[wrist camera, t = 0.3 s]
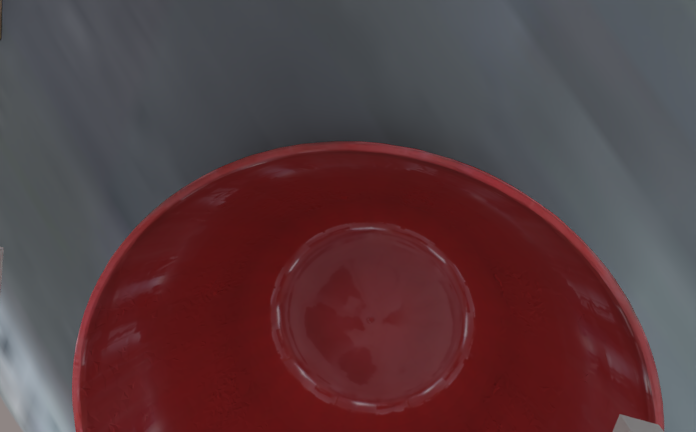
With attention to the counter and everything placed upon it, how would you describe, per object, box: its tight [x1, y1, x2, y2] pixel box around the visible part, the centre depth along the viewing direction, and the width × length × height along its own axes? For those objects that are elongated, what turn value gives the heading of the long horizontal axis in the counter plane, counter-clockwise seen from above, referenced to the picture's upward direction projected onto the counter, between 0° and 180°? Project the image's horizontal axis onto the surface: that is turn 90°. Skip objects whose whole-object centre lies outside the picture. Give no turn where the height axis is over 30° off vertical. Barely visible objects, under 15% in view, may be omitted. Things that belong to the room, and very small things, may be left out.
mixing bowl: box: [72, 141, 664, 432], centre depth 32 cm, size 28×28×15 cm
